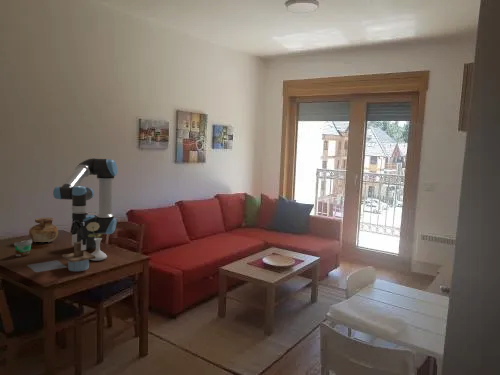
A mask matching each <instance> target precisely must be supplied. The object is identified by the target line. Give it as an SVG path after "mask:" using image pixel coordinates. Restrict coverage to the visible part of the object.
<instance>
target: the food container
mask: <svg viewBox="0 0 500 375" xmlns="http://www.w3.org/2000/svg"><path fill="white" fill-rule="evenodd" d="M32 244H33V241H32V239H31V238H30V237H29V238H28V237H27V239H26V240H20V241H19V242H18V241H14V244H13V246H14V251H15V257H16V258H26V257H28V256H29V257H30V255H31V249H32Z"/></svg>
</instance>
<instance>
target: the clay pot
mask: <svg viewBox="0 0 500 375" xmlns="http://www.w3.org/2000/svg"><path fill="white" fill-rule="evenodd" d="M53 222H54V219H53V218H52V217H37V218H35V219H34V223H35V225H33V226H31V227H30V229H29V232H28V234H29V238H30V239H31V240H32V242H34V243H36V242H48V243H51V242H53V241H54V240H56V238H57V237H58V235H59V229H58V226H56V225H54V224H53Z"/></svg>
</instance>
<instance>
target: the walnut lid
mask: <svg viewBox="0 0 500 375" xmlns="http://www.w3.org/2000/svg"><path fill="white" fill-rule="evenodd" d="M61 257H62V258H63V259H65V260H67V262H68V261H70V262H71V263H72V262H78V261H83V260H89V261H90V259H95V256H94V255H92V253H90V252H88V251H87V250H81V242H74V245H73V252H72V253H66V254H61Z"/></svg>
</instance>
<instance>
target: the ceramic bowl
mask: <svg viewBox="0 0 500 375" xmlns="http://www.w3.org/2000/svg"><path fill="white" fill-rule="evenodd" d="M67 264H68V265H67V266H68V267H67V269H68V271H70V272H82V271H86V270H88V269H89V268H90V259H89V260H83V261H78V262H72V263H71V262H70V261H68V260H67Z"/></svg>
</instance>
